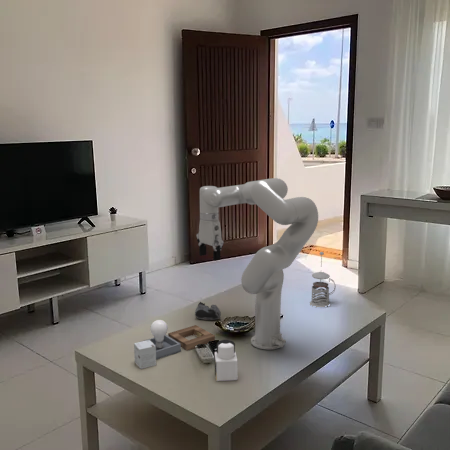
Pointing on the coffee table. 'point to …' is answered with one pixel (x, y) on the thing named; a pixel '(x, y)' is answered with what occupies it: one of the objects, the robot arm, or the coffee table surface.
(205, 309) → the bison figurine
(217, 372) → the medicine bottle
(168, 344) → the tray
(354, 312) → the coffee table surface
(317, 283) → the french press
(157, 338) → the lightbulb
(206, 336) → the socket collar
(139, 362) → the skincare box
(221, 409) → the coffee table surface
